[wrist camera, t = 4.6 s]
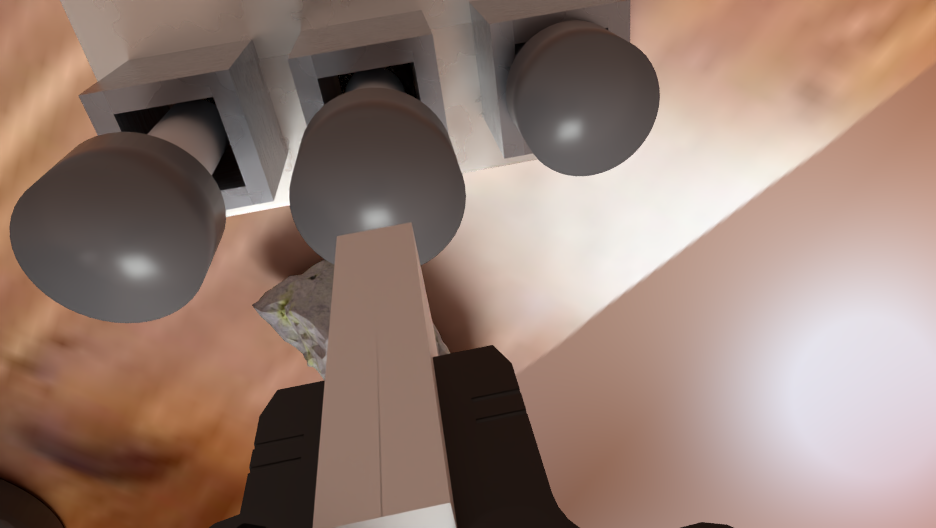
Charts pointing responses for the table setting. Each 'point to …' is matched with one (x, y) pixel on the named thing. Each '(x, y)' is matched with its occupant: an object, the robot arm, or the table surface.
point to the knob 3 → (581, 97)
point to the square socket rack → (311, 70)
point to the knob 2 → (376, 169)
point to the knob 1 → (127, 219)
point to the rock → (308, 313)
